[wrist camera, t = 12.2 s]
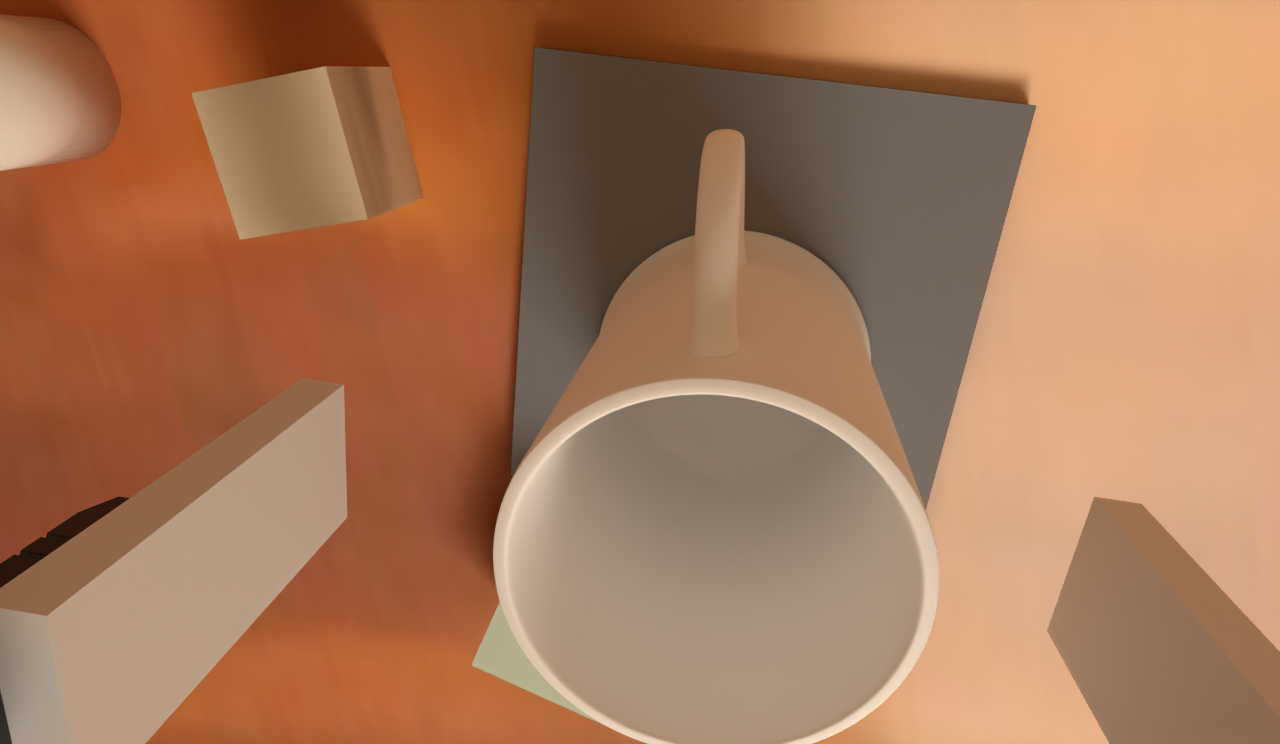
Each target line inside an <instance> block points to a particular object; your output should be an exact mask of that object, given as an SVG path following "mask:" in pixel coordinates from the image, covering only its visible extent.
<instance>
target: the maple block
mask: <svg viewBox="0 0 1280 744" xmlns="http://www.w3.org/2000/svg"><path fill="white" fill-rule="evenodd" d="M191 94H192V97H193V100H194V103H195V106H196V109H197V112H198V115H199V118H200V121H201V124H202V127H203V130H204V133H205V136H206V139H207V142H208V145H209V148H210V151H211V154H212V157H213V160H214V163H215V166H216V169H217V172H218V175H219V178H220V181H221V184H222V187H223V190H224V193H225V196H226V199H227V202H228V205H229V208H230V211H231V214H232V217H233V220H234V223H235V226H236V229H237V232H238V235H239V238H240V239H246V238H253V237H259V236H265V235H272V234H278V233H284V232H291V231H297V230H303V229H309V228H316V227H322V226H328V225H335V224H341V223H347V222H354V221H360V220H366V219H370V218H372V217H375V216H378V215H380V214H383V213H386V212H388V211H391V210H394V209H396V208H399V207H402V206H404V205H407V204H410V203H412V202H415V201H418V200H421V199H423V198H424V197H423V193H422V189H421V185H420V181H419V178H418V174H417V170H416V166H415V162H414V158H413V154H412V150H411V146H410V142H409V138H408V134H407V130H406V126H405V122H404V118H403V114H402V111H401V107H400V103H399V99H398V95H397V91H396V87H395V83H394V79H393V75H392V71H391V67H355V66H324V67H319V68H314V69H309V70H304V71H299V72H294V73H289V74H284V75H279V76H274V77H269V78H264V79H259V80H254V81H249V82H244V83H239V84H234V85H229V86H224V87H219V88H214V89H209V90H204V91H199V92H194V93H191Z"/></svg>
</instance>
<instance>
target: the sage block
mask: <svg viewBox="0 0 1280 744" xmlns="http://www.w3.org/2000/svg"><path fill="white" fill-rule="evenodd" d="M472 666H474V667H476V668H479V669H481V670H483V671H485V672H487V673H490V674H492V675H494V676H496V677H499V678H501V679H503V680H505V681H507V682H510V683H512V684H514V685H516V686H518V687H521V688H523V689H525V690H527V691H530V692H532V693H534V694H536V695H538V696H541V697H543V698H545V699H547V700H550V701H552V702H554V703H556V704H558V705H561V706H563V707H565V708H567V709H570V710H572V711H574V712H576V713H578V714H581V715H583V716H585V717H587V718H590V719H592V720H594V721H596V722H598V723H600V722H599V721H597V720H595V719H594V718H592V717H590V716H589V715H587V714H586V713H584V712H583V711H581V710H580V709H579V708H577V707H576V706H574V705H573V704H572V703H571V702H569V701H568V700H567V699H566V698H564V697H563V696H562V695H561V694H560V693H559V692H558V691H557V690H555V689H554V688H553V687H552V686H551V685H550V684H549V683H548V682H547V681H546V680H545V678H544V677H543V676H542V675H541V674H540V673H539V672H538V671H537V669H536V668H535V667H534V666H533V664H532V663H531V662H530V660H529V659H528V658H527V656H526V655H525V653H524V652H523V650H522V649H521V647H520V645H519V644H518V642H517V640H516V639H515V637H514V635H513V633H512V631H511V629H510V627H509V625H508V622H507V620H506V617H505V615H504V612H503V609H502V606H501V603H499V605H498V607H497V609H496V612H495V614H494V616H493V618H492V620H491V623H490V625H489V627H488V629H487V632H486V634H485V636H484V638H483V641H482V643H481V645H480V647H479V649H478V652H477V654H476V656H475V658H474V661H473V663H472ZM601 724H602V723H601ZM603 725H604V724H603ZM605 726H606V725H605Z"/></svg>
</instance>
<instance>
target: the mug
mask: <svg viewBox="0 0 1280 744" xmlns="http://www.w3.org/2000/svg"><path fill="white" fill-rule="evenodd" d="M744 214H745V142H744V137H743V135H742V134H741V133H740V132H738V131H736V130H732V129H720V130H715V131H713V132H711V133H710V134H708V136H707V137H706V139H705V142H704V146H703V151H702V157H701V164H700V173H699V183H698V195H697V208H696V224H695V235H693V236H690V237H687V238H684V239H681V240H679V241H676V242H674V243H672V244H670V245H668V246H666V247H664V248H662V249H661V250H659V251H657V252H656V253H654V254H653V255H651V256H650V257H649V258H647V259H646V260H645V261H644V262H642V263H641V264H640V265H639V266H638V267H637V268H636V269H635V270H634V271H633V272H632V273H631V274H630V275H629V276H628V277H627V278H626V280H625V281H624V282H623V283H622V285H621V286H620V288H619V289H618V291H617V292H616V294H615V295H614V297H613V299H612V301H611V303H610V305H609V307H608V309H607V311H606V314H605V317H604V319H603V323H602V326H601V330H600V335H599V337H598V338H597V340H596V341H595V343H594V345H593V346H592V348H591V350H590V351H589V353H588V354H587V356H586V358H585V359H584V361H583V362H582V364H581V366H580V367H579V369H578V371H577V372H576V374H575V375H574V377H573V379H572V380H571V382H570V384H569V385H568V387H567V388H566V390H565V392H564V393H563V395H562V396H561V398H560V400H559V401H558V403H557V405H556V406H555V408H554V409H553V411H552V413H551V414H550V416H549V418H548V419H547V421H546V422H545V424H544V426H543V427H542V429H541V430H540V432H539V434H538V435H537V437H536V439H535V440H534V442H533V443H532V445H531V447H530V448H529V450H528V452H527V453H526V455H525V456H524V458H523V460H522V461H521V463H520V465H519V466H518V468H517V470H516V472H515V474H514V475H513V477H512V479H511V481H510V483H509V485H508V488H507V490H506V492H505V495H504V497H503V500H502V503H501V506H500V510H499V513H498V517H497V521H496V527H495V533H494V543H493V566H494V576H495V582H496V588H497V592H498V596H499V600H500V603H501V606H502V609H503V612H504V615H505V617H506V620H507V622H508V625H509V627H510V629H511V631H512V633H513V635H514V637H515V639H516V640H517V642H518V644H519V645H520V647H521V649H522V650H523V652H524V653H525V655H526V656H527V658H528V659H529V660H530V662H531V663H532V664H533V666H534V667H535V668H536V669H537V671H538V672H539V673H540V674H541V675H542V676H543V677H544V678H545V680H546V681H547V682H548V683H549V684H550V685H551V686H552V687H553V688H554V689H555V690H557V691H558V692H559V693H560V694H561V695H562V696H563V697H564V698H566V699H567V700H568V701H569V702H571V703H572V704H573V705H574V706H576V707H577V708H579V709H580V710H581V711H583V712H584V713H586V714H587V715H589V716H590V717H592V718H594V719H595V720H597V721H599V722H600V723H602V724H604V725H606V726H608V727H609V728H611V729H613V730H615V731H617V732H620V733H622V734H624V735H626V736H629V737H631V738H634V739H636V740H639V741H642V742H644V743H647V744H812V743H815V742H818V741H820V740H823V739H825V738H828V737H830V736H832V735H834V734H836V733H838V732H840V731H842V730H844V729H846V728H848V727H850V726H851V725H853V724H855V723H856V722H858V721H859V720H861V719H862V718H864V717H865V716H867V715H868V714H869V713H871V712H872V711H873V710H874V709H876V708H877V707H878V706H879V705H880V704H882V703H883V702H884V701H885V700H886V699H887V698H888V697H889V696H890V695H891V694H892V693H893V692H894V691H895V690H896V689H897V688H898V686H899V685H900V684H901V683H902V682H903V680H904V679H905V678H906V677H907V675H908V674H909V672H910V671H911V670H912V668H913V666H914V665H915V663H916V662H917V660H918V658H919V656H920V655H921V653H922V651H923V649H924V647H925V644H926V642H927V640H928V637H929V635H930V632H931V629H932V626H933V622H934V619H935V614H936V610H937V604H938V596H939V562H938V554H937V548H936V543H935V539H934V535H933V531H932V527H931V524H930V521H929V518H928V515H927V512H926V510H925V507H924V504H923V501H922V499H921V496H920V493H919V490H918V488H917V485H916V482H915V480H914V477H913V474H912V472H911V469H910V466H909V464H908V461H907V458H906V456H905V453H904V450H903V448H902V445H901V442H900V440H899V437H898V434H897V432H896V429H895V426H894V423H893V421H892V418H891V415H890V413H889V410H888V407H887V405H886V402H885V399H884V397H883V394H882V391H881V389H880V386H879V383H878V381H877V378H876V375H875V373H874V370H873V367H872V365H871V351H870V342H869V336H868V332H867V328H866V324H865V321H864V318H863V316H862V313H861V311H860V309H859V307H858V304H857V303H856V301H855V299H854V297H853V295H852V294H851V292H850V291H849V289H848V288H847V286H846V285H845V284H844V283H843V281H842V280H841V279H840V278H839V277H838V275H837V274H836V273H835V272H834V271H833V270H832V269H831V268H830V267H828V266H827V265H826V264H825V263H824V262H823V261H821V260H820V259H819V258H817V257H816V256H815V255H813V254H812V253H810V252H809V251H807V250H805V249H804V248H802V247H800V246H798V245H796V244H794V243H792V242H789V241H787V240H784V239H782V238H779V237H776V236H772V235H769V234H765V233H760V232H754V231H745V230H744Z"/></svg>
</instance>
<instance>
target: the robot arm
mask: <svg viewBox="0 0 1280 744" xmlns="http://www.w3.org/2000/svg"><path fill="white" fill-rule="evenodd" d="M346 518H347V491H346V451H345V411H344V385H343V384H336V383H330V382H323V381H316V380H310V379H302V380H300V381H299V382H297V383H296V384H294V385H293V386H292V387H290V388H289V389H287V390H286V391H284V392H283V393H281V394H280V395H279V396H277V397H276V398H274V399H273V400H271V401H270V402H268V403H267V404H266V405H264V406H263V407H261V408H260V409H258V410H257V411H255V412H254V413H253V414H251V415H250V416H248V417H247V418H245V419H244V420H242V421H241V422H240V423H238V424H237V425H235V426H234V427H232V428H231V429H229V430H228V431H227V432H225V433H224V434H222V435H221V436H219V437H218V438H216V439H215V440H214V441H212V442H211V443H209V444H208V445H206V446H205V447H203V448H202V449H201V450H199V451H198V452H196V453H195V454H193V455H192V456H190V457H189V458H188V459H186V460H185V461H183V462H182V463H180V464H179V465H177V466H176V467H175V468H173V469H172V470H170V471H169V472H167V473H166V474H164V475H163V476H162V477H160V478H159V479H157V480H156V481H154V482H153V483H151V484H150V485H149V486H147V487H146V488H144V489H143V490H141V491H140V492H138V493H137V494H136V495H134V496H133V497H131V498H125V497H117V498H114V499H111V500H109V501H106V502H104V503H101V504H99V505H96V506H93V507H91V508H88V509H86V510H83V511H81V512H78V513H77V514H75V515H74V516H72V517H71V518H69V519H68V520H66V521H65V522H63V523H62V524H60V525H59V526H57V527H56V528H54V529H53V530H51V531H49V532H48V533H47V536H46V538H43V537H40V538H39V539H37V540H36V541H34V542H33V543H31V544H30V545H28V546H27V547H25V548H24V549H22V550H21V553H20V555H19V556H18V555H13V556H12V557H10V558H9V559H7V560H6V561H4V562H2V563H1V564H0V744H145V743H146V742H147V741H148V740H149V739H150V738H151V737H152V735H153V734H154V733H155V732H156V731H157V730H158V729H159V728H160V726H161V725H162V724H163V723H164V722H165V721H166V720H167V719H168V718H169V716H170V715H171V714H172V713H173V712H174V711H175V710H176V709H177V707H178V706H179V705H180V704H181V703H182V702H183V701H184V700H185V698H186V697H187V696H188V695H189V694H190V693H191V692H192V691H193V689H194V688H195V687H196V686H197V685H198V684H199V683H200V682H201V681H202V679H203V678H204V677H205V676H206V675H207V674H208V673H209V672H210V670H211V669H212V668H213V667H214V666H215V665H216V664H217V663H218V661H219V660H220V659H221V658H222V657H223V656H224V655H225V654H226V652H227V651H228V650H229V649H230V648H231V647H232V646H233V645H234V644H235V642H236V641H237V640H238V639H239V638H240V637H241V636H242V635H243V633H244V632H245V631H246V630H247V629H248V628H249V627H250V626H251V624H252V623H253V622H254V621H255V620H256V619H257V618H258V617H259V615H260V614H261V613H262V612H263V611H264V610H265V609H266V608H267V606H268V605H269V604H270V603H271V602H272V601H273V600H274V599H275V598H276V596H277V595H278V594H279V593H280V592H281V591H282V590H283V589H284V587H285V586H286V585H287V584H288V583H289V582H290V581H291V580H292V578H293V577H294V576H295V575H296V574H297V573H298V572H299V571H300V569H301V568H302V567H303V566H304V565H305V564H306V563H307V562H308V561H309V559H310V558H311V557H312V556H313V555H314V554H315V553H316V552H317V550H318V549H319V548H320V547H321V546H322V545H323V544H324V543H325V541H326V540H327V539H328V538H329V537H330V536H331V535H332V534H333V532H334V531H335V530H336V529H337V528H338V527H339V526H340V525H341V524H342V522H343V521H344V520H345V519H346ZM1047 631H1048V633H1049V635H1050V637H1051V638H1052V640H1053V642H1054V644H1055V646H1056V647H1057V649H1058V651H1059V653H1060V655H1061V657H1062V658H1063V660H1064V662H1065V664H1066V666H1067V667H1068V669H1069V671H1070V673H1071V675H1072V676H1073V678H1074V680H1075V682H1076V684H1077V686H1078V687H1079V689H1080V691H1081V693H1082V695H1083V696H1084V698H1085V700H1086V702H1087V704H1088V706H1089V707H1090V709H1091V711H1092V713H1093V715H1094V716H1095V718H1096V720H1097V722H1098V724H1099V725H1100V727H1101V729H1102V731H1103V733H1104V735H1105V736H1106V738H1107V740H1108V742H1109V744H1280V652H1279V651H1278V650H1277V649H1276V647H1275V646H1274V645H1273V644H1272V643H1271V642H1270V641H1269V640H1268V639H1267V638H1266V637H1265V636H1264V635H1263V634H1262V632H1261V631H1260V630H1259V629H1258V628H1257V627H1256V626H1255V625H1254V624H1253V623H1252V622H1251V621H1250V620H1249V619H1248V617H1247V616H1246V615H1245V614H1244V613H1243V612H1242V611H1241V610H1240V609H1239V608H1238V607H1237V606H1236V605H1235V604H1234V602H1233V601H1232V600H1231V599H1230V598H1229V597H1228V596H1227V595H1226V594H1225V593H1224V592H1223V591H1222V590H1221V589H1220V587H1219V586H1218V585H1217V584H1216V583H1215V582H1214V581H1213V580H1212V579H1211V578H1210V577H1209V576H1208V575H1207V574H1206V572H1205V571H1204V570H1203V569H1202V568H1201V567H1200V566H1199V565H1198V564H1197V563H1196V562H1195V561H1194V560H1193V559H1192V557H1191V556H1190V555H1189V554H1188V553H1187V552H1186V551H1185V550H1184V549H1183V548H1182V547H1181V546H1180V545H1179V544H1178V542H1177V541H1176V540H1175V539H1174V538H1173V537H1172V536H1171V535H1170V534H1169V533H1168V532H1167V531H1166V530H1165V529H1164V527H1163V526H1162V525H1161V524H1160V523H1159V522H1158V521H1157V520H1156V519H1155V518H1154V517H1153V516H1152V515H1151V514H1150V512H1149V511H1148V510H1147V509H1146V508H1145V507H1144V506H1143V505H1142V504H1139V503H1132V502H1125V501H1119V500H1112V499H1105V498H1099V497H1094V500H1093V502H1092V505H1091V508H1090V511H1089V514H1088V517H1087V519H1086V522H1085V525H1084V528H1083V531H1082V533H1081V536H1080V539H1079V542H1078V545H1077V548H1076V550H1075V553H1074V556H1073V559H1072V562H1071V564H1070V567H1069V570H1068V573H1067V576H1066V579H1065V581H1064V584H1063V587H1062V590H1061V593H1060V596H1059V598H1058V601H1057V604H1056V607H1055V610H1054V612H1053V615H1052V618H1051V621H1050V624H1049V627H1048V629H1047Z"/></svg>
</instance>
